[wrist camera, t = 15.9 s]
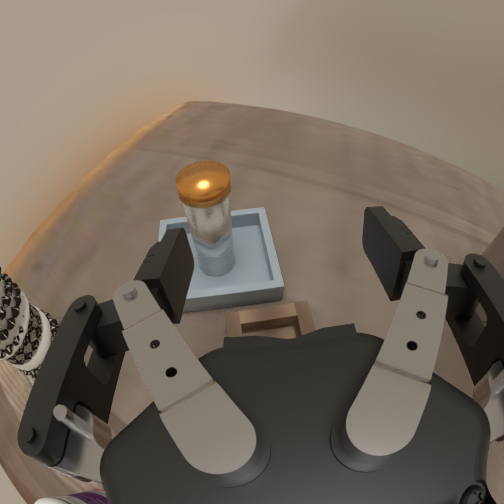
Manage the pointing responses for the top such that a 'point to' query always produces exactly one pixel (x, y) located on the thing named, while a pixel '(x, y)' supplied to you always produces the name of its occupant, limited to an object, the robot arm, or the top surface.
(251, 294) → the tray
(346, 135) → the top surface
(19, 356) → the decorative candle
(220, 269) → the glass jar
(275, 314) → the square wooden frame
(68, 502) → the pill bottle
